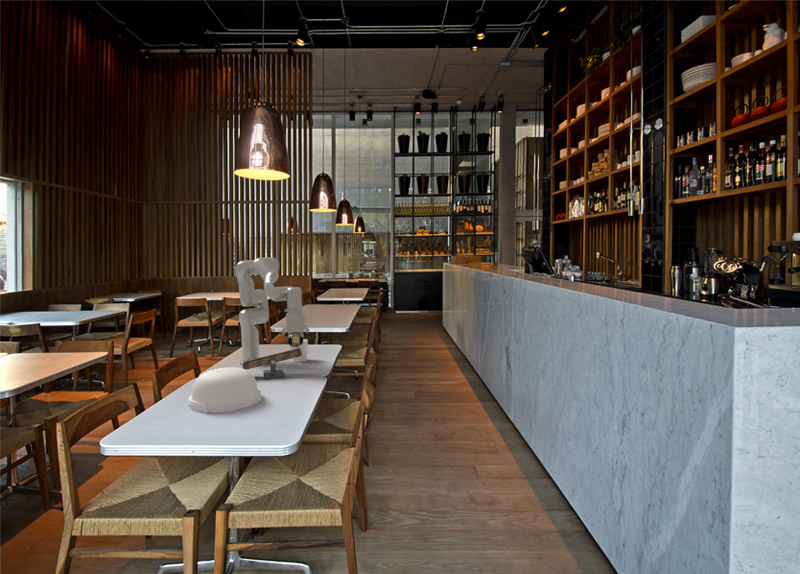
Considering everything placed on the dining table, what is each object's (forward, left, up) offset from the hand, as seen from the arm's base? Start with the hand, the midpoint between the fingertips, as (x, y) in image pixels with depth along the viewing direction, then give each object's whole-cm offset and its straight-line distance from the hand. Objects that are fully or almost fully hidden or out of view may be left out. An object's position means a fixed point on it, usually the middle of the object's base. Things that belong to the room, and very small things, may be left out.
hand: (295, 344), depth 256 cm
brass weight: (0, 0, -1) cm, 1 cm away
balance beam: (-7, -10, -7) cm, 14 cm away
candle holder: (-23, +20, -16) cm, 34 cm away
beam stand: (-7, -10, -15) cm, 20 cm away
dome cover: (+15, -50, -16) cm, 54 cm away
